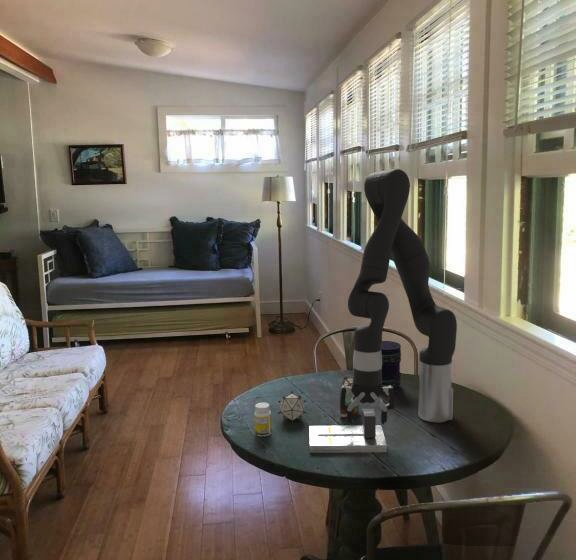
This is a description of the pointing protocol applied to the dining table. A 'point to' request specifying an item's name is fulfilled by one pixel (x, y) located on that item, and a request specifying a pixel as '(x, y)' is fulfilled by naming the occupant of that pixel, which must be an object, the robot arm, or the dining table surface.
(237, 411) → the dining table surface
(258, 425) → the supplement bottle
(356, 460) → the dining table surface
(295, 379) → the dining table surface
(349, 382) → the food container
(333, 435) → the console board
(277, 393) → the dining table surface
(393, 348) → the storage jar
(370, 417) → the fader knob
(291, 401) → the game die
